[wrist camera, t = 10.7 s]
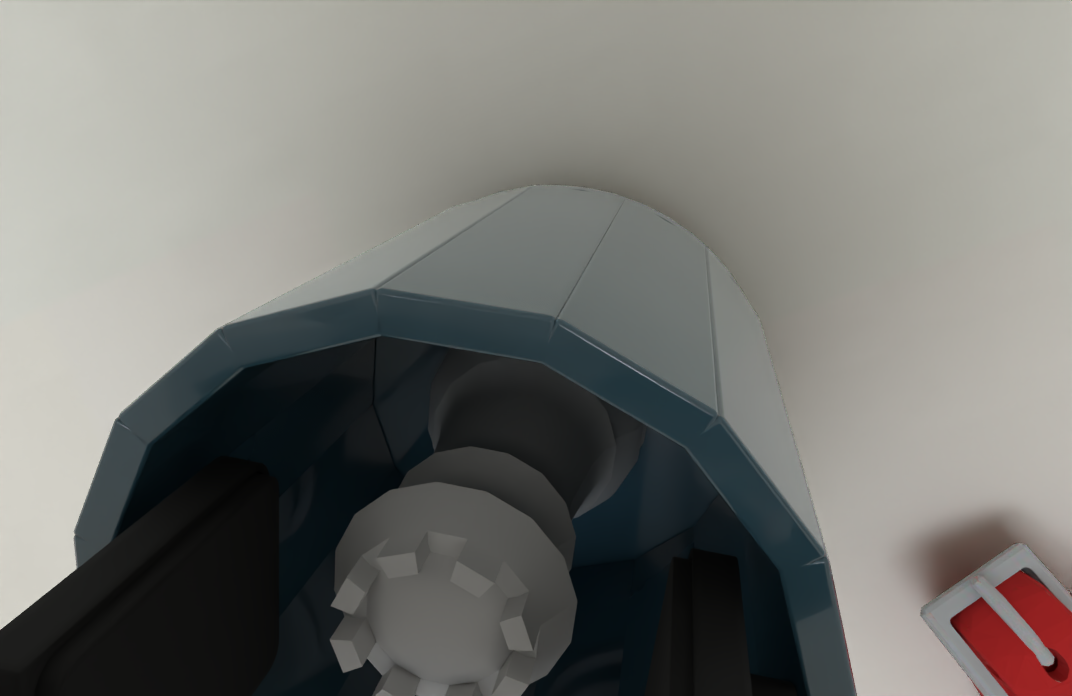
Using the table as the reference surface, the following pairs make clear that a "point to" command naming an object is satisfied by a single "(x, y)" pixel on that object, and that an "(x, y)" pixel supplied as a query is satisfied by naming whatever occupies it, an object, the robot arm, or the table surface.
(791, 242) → the table surface
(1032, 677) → the tracker holder
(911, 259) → the table surface
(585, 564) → the tumbler
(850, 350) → the table surface
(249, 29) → the table surface
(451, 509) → the rook chess piece
